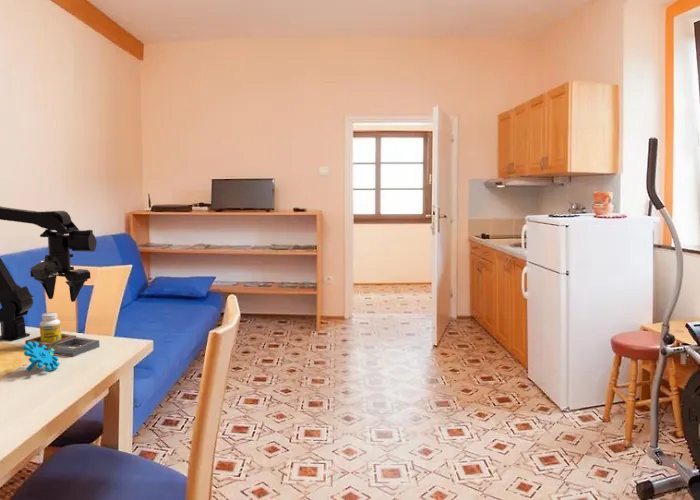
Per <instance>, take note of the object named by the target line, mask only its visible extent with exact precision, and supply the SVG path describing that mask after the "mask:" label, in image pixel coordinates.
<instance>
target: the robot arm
mask: <svg viewBox="0 0 700 500" xmlns="http://www.w3.org/2000/svg"><path fill="white" fill-rule="evenodd" d="M0 220H1V221H7V222H17V223H25V224H32V225H36V226H38V227H40V228H42V229H44V231H43V232H42V233H40V235H39V237H40V238H47V246H48V247H47V249H48V254H45V256H44V260H43V261H41V262H39V263H37V264H35V265H34V266H32V267H30V277H31V278H33V279H34V280H35V281H36V282H37V281H38V282H39V283H40V284H41V285H42V287H43V288H44V292H45V294H46V295H47V297H48V299H49V300H53V299H54V295H55V289H56V282H57V277H62V278H63V277H64V278H65V279H66V281H65V283H66V285H67V286H68V288H69V297H70V302H72V303H73V302H74V303H75V301H76V300H77V298H78V296H79V294H80V291H81V290H82V287H83V286H84V285H85V283H86V282H87V281H89V279H91V271H90V270H89V269H82V268H78V269H75V267H74V266H71V258H74V253H71V251H72V252H75V253H76V252H77V253H78V252H84V253H86V252H87V253H88V252H90V253H94V252H95V250H96V248H97V239H96V236H95V234H94V230H92V229H86V230H84V229H83V230H82V229H81V230H80V229H79V228H78V226H76V224H75V223H74V221H72V218H71V215H70V214H69V212H67V211H65V210H45V211H36V210H27V209H20V208H12V207H7V206H5V207H4V206H1V205H0ZM33 298H34V295H32V293H31V292H30V289H29V288H28V286H25V285H24V286H23V287H21V286H20V285H18V284H17V282H16V281H15V280H14V278H13V276H12V275H11V273H10V271H9V270H8V267H6V264H5V263H4V261H3V259H2V258H1V257H0V306H1V307H0V340H4V341H14V340H18V339H21V338H25V337H28V336H30V335H31V334H30V333H29V332H26V322H25V317H24V316H27V315H28V314H29V310H31V309H32V307H33V304H34V300H33Z"/></svg>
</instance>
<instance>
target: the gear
mask: <svg viewBox="0 0 700 500" xmlns="http://www.w3.org/2000/svg"><path fill="white" fill-rule="evenodd" d="M38 345H39V343H38V342H34V343H32V342H28V343H27V344H25V346H23V347H22V349H23V350H24V352H23V354H24V356H26V357H29V358H28V361H29V362H30V364H29V365H28V366H27V367H25V370H26V371H28V372H30V371H31V370H32V369H33V368H34V367H35V366H36V368H38V369H42V368H43V367H44V370H45V371H47V372H50V371H51V370H52V371H56V370H57V369H58V367H59V366H60V362H59V357H58V356H57V355H55V354H54V349H53V348H51V349H50V350H49V351H46V350H45V349H46V348H47V347H46V346H45V345H42V346H41V347H40V348H39V347H38ZM33 346H34V347H33Z"/></svg>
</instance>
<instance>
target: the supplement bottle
mask: <svg viewBox="0 0 700 500" xmlns="http://www.w3.org/2000/svg"><path fill="white" fill-rule="evenodd" d="M41 319H42V320H41V321H40V322H39V332H40V334H39V335H40V336H41V342H47V343H51V342H54V341H57V340H60V339H61V334H62V327H61V320H60V319H58V313H57V312H45V313H42V314H41Z"/></svg>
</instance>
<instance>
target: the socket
mask: <svg viewBox="0 0 700 500" xmlns="http://www.w3.org/2000/svg"><path fill="white" fill-rule="evenodd" d="M80 345H81V346H80ZM72 346H73V347H72ZM74 346H76V347H74ZM51 348H53V349H54V354H53V355H60V356H68V357H73V358H74V357H76V356H79V355H82V354H83V353H87V352H89V351H92V350H95V349H98V348H100V340H99V339H98V340H97V339H90V338H85V337H77V336H76V337H73V338H70V339H67V340H64V341H61V342H58V343H55V344H52V345H49V346H48V351H49V350H50V349H51Z"/></svg>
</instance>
